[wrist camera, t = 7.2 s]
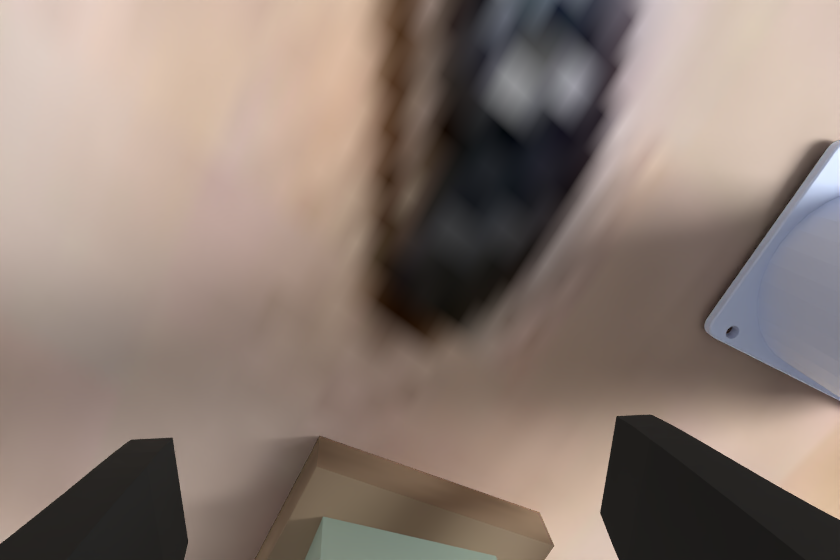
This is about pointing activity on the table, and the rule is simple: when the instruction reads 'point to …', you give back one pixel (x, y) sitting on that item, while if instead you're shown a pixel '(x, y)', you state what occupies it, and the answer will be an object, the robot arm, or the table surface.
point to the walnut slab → (399, 508)
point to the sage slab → (379, 545)
